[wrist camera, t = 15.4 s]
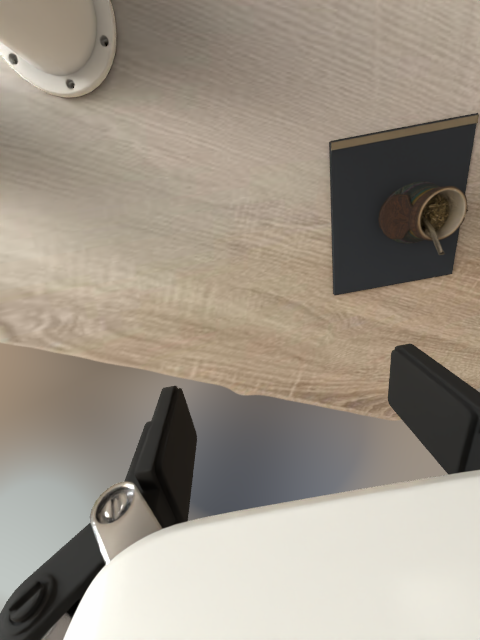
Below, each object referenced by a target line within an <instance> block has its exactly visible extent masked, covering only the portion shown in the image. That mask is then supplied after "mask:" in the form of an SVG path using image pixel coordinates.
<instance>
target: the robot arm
mask: <svg viewBox="0 0 480 640" xmlns="http://www.w3.org/2000/svg"><path fill="white" fill-rule="evenodd" d="M116 39H117V38H116V22H115V17H114V12H113V7H112V4H111V1H110V0H0V55H1V56H2V57H3V59H4V60H5V61H6V62H7V63H8V64H9V66H10V67H11V68H12V69H13V70H14V71H15V72H16V73H18V74H19V75H20V76H21V77H22V78H23V79H25V80H26V81H27V82H29V83H30V84H32V85H33V86H35V87H37V88H39V89H40V90H42V91H44V92H46V93H49V94H52V95H55V96H58V97H68V98H71V97H79V96H82V95H85V94H87V93H90V92H91V91H93V90H94V89H95V88H97V87H98V86H99V85H100V84H101V83H102V81H103V80H104V79H105V78H106V76H107V74H108V72H109V70H110V68H111V66H112V63H113V59H114V55H115V49H116ZM107 43H109V44H108V46H106V44H107ZM73 85H75V87H74V89H73ZM388 401H389V404H390V406H391V407H392V408H393V410H394V411H395V412H396V413H397V414H398V415H399V417H400V418H401V419H402V420H403V421H404V423H405V424H406V425H407V426H408V427H409V428H410V430H411V431H412V432H413V433H414V434H415V435H416V437H417V438H418V439H419V440H420V441H421V443H422V444H423V445H424V446H425V447H426V449H427V450H428V451H429V452H430V453H431V454H432V455H433V457H434V458H435V459H436V460H437V462H438V463H439V464H440V465H441V466H442V467H443V469H444V470H445V471H446V472H447V473H448V474H449V475H443V476H437V477H431V478H425V479H419V480H413V481H407V482H401V483H395V484H389V485H383V486H377V487H371V488H366V489H360V490H353V491H348V492H343V493H336V494H330V495H324V496H319V497H313V498H307V499H301V500H296V501H290V502H285V503H279V504H273V505H268V506H263V507H257V508H251V509H245V510H240V511H235V512H230V513H225V514H220V515H214V516H209V517H204V518H199V519H195V520H191V521H188V512H189V504H190V496H191V487H192V486H191V485H192V478H193V469H194V461H195V452H196V443H197V435H196V431H195V428H194V425H193V422H192V418H191V416H190V412H189V409H188V406H187V403H186V400H185V397H184V394H183V391H182V389H181V388H179V389H178V388H177V387H176V386H171V387H166V388H163V389H162V391H161V394H160V397H159V400H158V403H157V406H156V409H155V412H154V415H153V418H152V421H150V422H147V423H146V424H145V426H144V429H143V432H142V435H141V437H140V440H139V443H138V446H137V448H136V452H135V454H134V457H133V459H132V462H131V465H130V468H129V471H128V474H127V476H126V479H125V482H120V483H117V484H114V485H113V486H111V487H110V488H108V489H107V490H106V491H105V492H103V493H102V494H101V495H100V497H99V498H98V499H97V500H96V502H95V504H94V506H93V508H92V510H91V514H90V523H89V524H88V525H87V526H86V527H85V528H84V529H83V530H81V531H80V532H79V533H78V534H77V535H76V536H75V537H74V538H72V540H70V541H69V542H68V543H67V544H66V545H65V546H63V547H62V548H61V549H60V550H59V551H58V552H57V553H56V554H54V555H53V556H52V557H51V558H50V559H49V560H48V561H46V562H45V563H44V564H43V565H42V566H41V567H40V568H39V569H37V570H36V571H35V572H34V573H33V574H32V575H31V576H30V577H28V578H27V579H26V580H25V581H24V582H23V583H22V584H21V585H20V586H19V587H18V588H17V589H16V590H15V592H14V593H13V594H12V596H11V597H10V598H9V599H8V601H7V602H6V604H5V606H4V608H3V610H2V611H1V613H0V640H480V392H478V391H477V390H475V389H474V388H473V387H471V386H470V385H468V384H467V383H466V382H464V381H463V380H462V379H460V378H459V377H457V376H456V375H455V374H453V373H452V372H450V371H449V370H448V369H446V368H445V367H443V366H442V365H441V364H439V363H438V362H436V361H435V360H434V359H432V358H431V357H429V356H428V355H427V354H425V353H424V352H423V351H421V350H420V349H418V348H417V347H416V346H414V345H412V344H406V345H400V346H396V347H395V350H393V351H392V353H391V365H390V378H389V391H388Z"/></svg>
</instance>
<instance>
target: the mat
mask: <svg viewBox="0 0 480 640" xmlns="http://www.w3.org/2000/svg"><path fill="white" fill-rule="evenodd" d="M478 117H479V115H478V113H476V114H470V115H465V116H460V117H455V118H449V119H444V120H439V121H434V122H428V123H423V124H418V125H413V126H408V127H402V128H397V129H392V130H387V131H381V132H376V133H371V134H366V135H360V136H355V137H350V138H345V139H339V140H334V141H331V142H329V147H330V185H331V222H332V259H333V294H334V295H339V294H344V293H350V292H355V291H361V290H366V289H372V288H377V287H383V286H388V285H394V284H399V283H404V282H410V281H415V280H421V279H426V278H432V277H437V276H443V275H448V274H452V271H453V265H454V258H455V252H456V246H457V240H458V234H459V228H460V227H459V228H458V229H457V230H456V231H455V232H454V233H453V234H452V235H450V236H449V237H447V238H445V239H442V240H439V242H440V244H441V247H442V250H443V251H444V253H445V254H444V255H439V254H438V252H437V249H436V247H435V245H434V242H433V241H428V240H423V241H420V242H417V243H410V244H403V243H399V242H396V241H394V240H392V239H390V238H388V237H387V236H386V235H385V234H384V233H383V231H382V229H381V228H380V226H379V221H378V218H379V212H380V209H381V207H382V205H383V204H384V202H385V201H386V199H387V198H388V197H389V196H390V195H391V194H392V193H393V192H395V191H396V190H398V189H400V188H401V187H404V186H406V185H408V184H410V183H414V182H424V181H426V182H430V183H434V184H436V185H438V186H440V187H446V186H454V187H457V188H459V189H460V190H461V191H463V193H464V194H465V191H466V185H467V178H468V172H469V166H470V160H471V154H472V148H473V142H474V135H475V129H476V123H478Z"/></svg>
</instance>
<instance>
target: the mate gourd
mask: <svg viewBox="0 0 480 640" xmlns="http://www.w3.org/2000/svg"><path fill="white" fill-rule="evenodd" d="M467 211H468V210H467V199H466V196H465V194H464V193H463V191H461V190H460V189H459V188H457V187H454V186H446V187H440V186H438V185H436V184H434V183H430V182H426V181H424V182H414V183H410V184H408V185H406V186H404V187H401V188H400V189H398V190H396V191H395V192H393V193H392V194H391V195H390V196H389V197H388V198H387V199H386V201H385V202H384V204H383V205H382V207H381V209H380V212H379V218H378V221H379V226H380V228H381V229H382V231H383V233H384V234H385V235H386V236H387V237H388V238H390V239H392V240H394V241H396V242H399V243H403V244H410V243H417V242H420V241H423V240H428V241H433V242H434V245H435V247H436V249H437V252H438V254H439V255H444V254H445V253H444V251H443V250H442V247H441V244H440V242H439V240H442V239H445V238H447V237H449V236H450V235H452V234H453V233H454V232H455V231H456V230H457V229H458V228H459V227H460V225H461V224H462V222H463V221H464V219H465V218H464V217H465V214H466V212H467Z"/></svg>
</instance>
